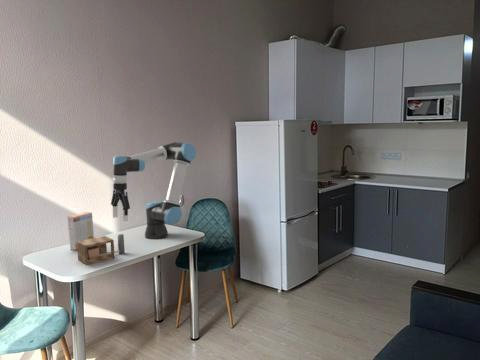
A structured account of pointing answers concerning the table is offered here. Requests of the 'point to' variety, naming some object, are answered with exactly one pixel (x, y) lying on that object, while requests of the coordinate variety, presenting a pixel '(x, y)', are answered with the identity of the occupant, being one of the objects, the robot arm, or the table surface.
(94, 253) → the u-shaped stand
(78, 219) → the cracker box
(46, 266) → the table surface
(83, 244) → the cubby
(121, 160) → the robot arm
